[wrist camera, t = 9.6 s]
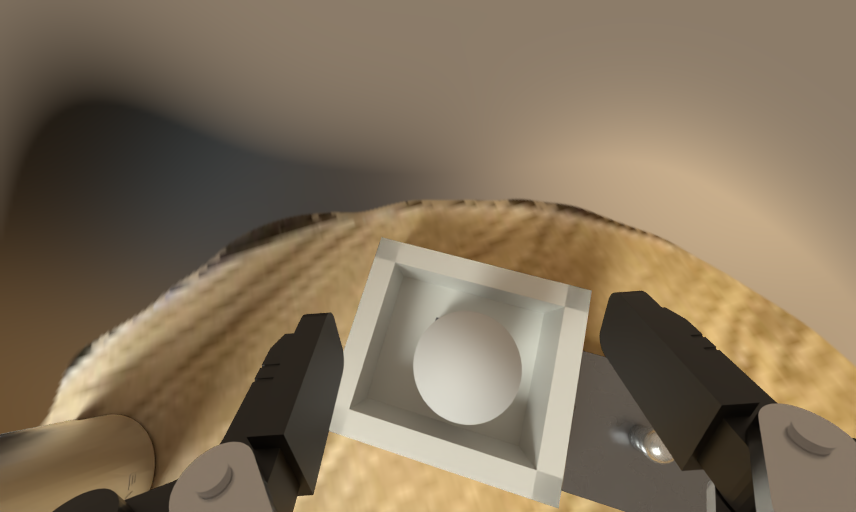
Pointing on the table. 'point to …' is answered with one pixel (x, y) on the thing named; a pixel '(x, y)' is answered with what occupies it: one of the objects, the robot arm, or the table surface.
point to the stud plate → (623, 450)
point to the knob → (467, 367)
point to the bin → (397, 391)
